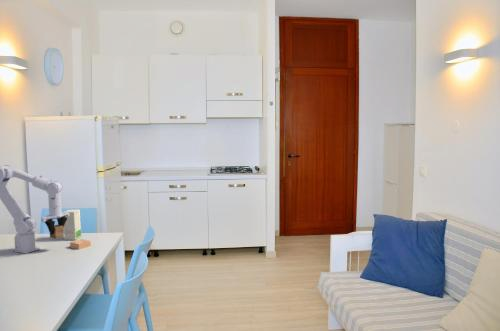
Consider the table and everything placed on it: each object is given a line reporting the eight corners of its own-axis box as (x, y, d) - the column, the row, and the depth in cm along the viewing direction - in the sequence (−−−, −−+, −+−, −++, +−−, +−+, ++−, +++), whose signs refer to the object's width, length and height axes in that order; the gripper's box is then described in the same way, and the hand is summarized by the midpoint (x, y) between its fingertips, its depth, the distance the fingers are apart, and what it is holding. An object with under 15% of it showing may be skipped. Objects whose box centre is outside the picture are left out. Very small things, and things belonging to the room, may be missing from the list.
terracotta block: (70, 248, 215) (69, 242, 215) (82, 244, 221) (81, 239, 221) (79, 250, 212) (78, 244, 211) (90, 246, 218) (90, 240, 217)
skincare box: (75, 240, 228) (74, 212, 226) (63, 240, 228) (61, 212, 227) (81, 236, 236) (80, 208, 235) (70, 236, 236) (68, 209, 235)
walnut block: (49, 237, 210) (49, 226, 209) (57, 235, 214) (57, 224, 213) (55, 238, 208) (55, 227, 207) (63, 236, 211) (63, 225, 211)
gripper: (47, 209, 201) (48, 237, 202) (72, 204, 214) (74, 230, 215) (37, 208, 204) (39, 235, 206) (63, 203, 217) (64, 229, 218)
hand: (56, 232), depth 210 cm, fingers closed on walnut block, 4 cm apart
